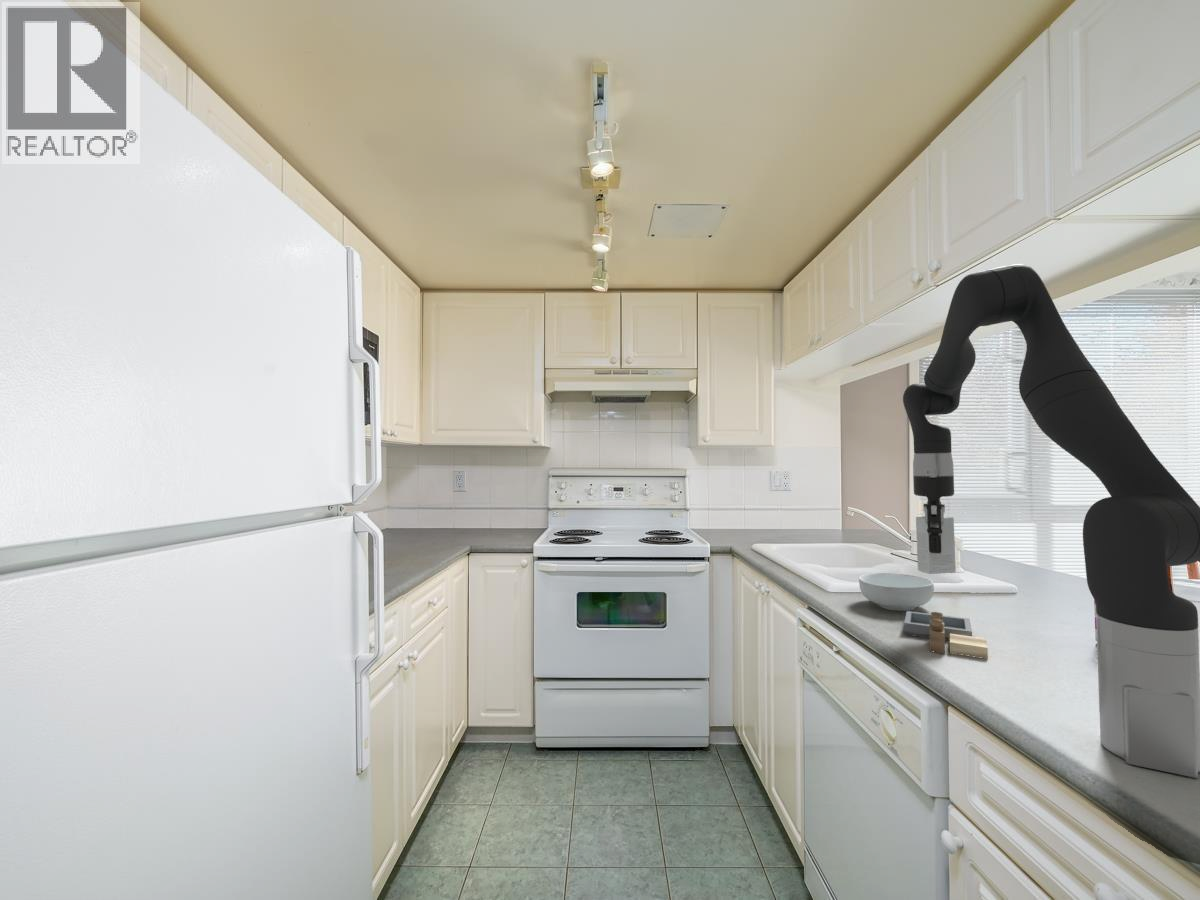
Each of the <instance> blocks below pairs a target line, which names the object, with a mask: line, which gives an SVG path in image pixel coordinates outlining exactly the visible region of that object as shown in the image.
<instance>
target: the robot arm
mask: <svg viewBox="0 0 1200 900" xmlns="http://www.w3.org/2000/svg"><path fill="white" fill-rule="evenodd" d="M947 312H948V313H947V315H946V319H945V323H944V327H943V331H942V334H941V338H940V342H939V346H938V347H937V350H936V353H935V355H933V358H932V359H931V362H930V364H929V365H928V367H927V368H926V370H925V372H924V376H923V383H922V382H921V383H920V382H919V383H912V384H910V385H909V386H907V387H906V389H905V390H904V392H903V395H902V403H903V408H904V410H905V413H906V415H907V418H908V421H909V424H910V428H911V431H912V437H913V439H912V440H913V459H912V460H913V461H912V474H913V475H912V477H913V479H912V480H913V494H914V495H915V496H918V497H926V498H927V502H926V503H923V505H922V506H923V509H922V510H923V513H924V517H925V524H926V525H928V529H927V533H928V535H929V552H931V553H941V536H942V535H941V534H942V530H941V527H942V526H943V525H944V516H945V512H946V508H945V507H946V506H945V504H944V503H942V501H941V498H943V497H946V498H947V497H952V496H954V495H955V478H954V477H955V476H954V475H955V474H954V471H955V470H954V461H953V460H954V459H953V455H952V432H951V429H950V428H949V427H947V426H944V425H939V424H933V423H931V422H930V421H929V420H928V418H926V416H937V415H939V416H942V415H948V414H951V413H953V412H955V411H956V410H957V409H958V408H959V406H960V402H961V401H960V400H961V392H962V388H963V384H964V382H965V381H966V379H967V378H968V376H969V374H971V372H972V370H973V369H974V367H975V364H976V357H977V356H976V351H975V348H974V346H973V343H972V342H971V339H970V336H971V335H972V334H973V333H974V332H975V331H977V329H978V328H979V327H988V326H991V325H998V324H1002V323H1007V322H1008V323H1009V322H1013V323H1014V324H1015V325H1017V327H1018V329H1019V330H1020V332H1021V334H1022V335H1023V338H1024V340H1025V343H1026V351H1025V356H1024V360H1023V363H1022V367H1021V372H1020V375H1019V382H1018V391H1019V395H1020V397H1021V399H1022V401H1023V403H1024V405H1025V407H1026V408H1027V410H1028V412H1029V414H1030V415H1031V416H1032V418H1033V420H1034V422H1035V423H1036V425H1037V426H1038V428H1039V430H1041V431H1042V432H1043V433H1044V434H1045V436H1047V438H1049V439H1050V440H1051V441H1052V442H1053V443H1055V444H1056V445H1057V446H1058V447H1060V448H1061V449H1063V450H1064V451H1065V452H1066V453H1068V454H1070V455H1071V456H1072V457H1073V458H1075V459H1076V460H1078V461H1079V462H1080V463H1081V464H1082V465H1084V466H1085V467H1087V468H1088V469H1089V470H1090V471H1091V472H1092V473H1093V474H1094V475H1095V476H1096V477H1097V478H1098V479H1099V481H1100V482H1101V484H1102V485H1103V486H1104V487H1105V490H1106V491H1107V492H1108V494H1109V495H1110V496H1108V497H1105V498H1102V499H1099V500H1098V501H1096V502H1094V503H1093V504H1092V505H1091V506H1090V507H1089V509H1088V510H1087V512H1086V514H1085V516H1084V521H1083V524H1082V546H1083V555H1084V556H1083V557H1084V564H1085V565H1084V566H1085V574H1086V583H1087V587H1088V590H1089V592H1090V594H1091V597H1092V598H1093V601H1094V600H1095V603H1096V621H1097V641H1096V652H1097V674H1098V675H1097V676H1098V677H1097V678H1098V679H1097V680H1098V681H1097V682H1098V709H1099V731H1100V732H1099V733H1100V743H1101V746H1103V747H1104V748H1105V749H1106V750H1108V751H1110V753H1112V754H1114V755H1116V756H1118V757H1120V758H1121V759H1123V760H1124V761H1125V763H1126V764H1127V765H1128V764H1129V765H1132V766H1137V767H1143V768H1147V769H1152V770H1156V771H1161V772H1166V773H1171V774H1176V775H1180V776H1185V777H1190V778H1194V779H1198V778H1199V773H1200V642H1199V641H1200V639H1199V637H1200V636H1199V614H1198V613H1199V611H1198V609H1197V607H1196V604H1194V603H1193V602H1192V601H1190V600H1188V599H1186V598H1184V597H1181V596H1179V595H1176V594H1175V593H1174V591H1172V589H1171V586H1170V580H1169V571H1168V567H1174V566H1175V567H1176V566H1186V565H1189V564H1194V563H1197V562H1199V561H1200V505H1199V504H1198V503H1197V502H1196V501H1195V500H1194V498H1193V497H1192V496H1191V495H1190V494H1189V493H1188V492H1187V491H1186V490H1185V488H1184V487H1183V486H1182V485H1181V484H1180V483H1179V482H1178V480H1176V478H1175V477H1174V476H1173V475H1172V474H1171V473H1170V472H1169V471H1168V469H1167V468H1165V466H1164V464H1163V463H1162V462H1161V461H1160V460H1159V458H1157V456H1156V455H1155V454H1154V453H1153V452H1152V450H1151V449H1150V447H1149V446H1148V444H1147V443H1146V442H1145V440H1144V439H1143V437H1142V436H1141V434H1140V433H1139V432H1138V429H1137V428H1136V427H1135V425H1134V424H1133V423H1132V422H1131V420H1130V418H1128V416H1127V415H1126V414H1125V412H1124V411H1123V409H1122V408H1121V406H1120V404H1119V403H1118V402H1117V400H1116V398H1115V396H1114V395H1113V393H1112V392H1111V390H1110V389H1109V387H1108V386H1107V384H1106V383H1105V381H1104V380H1103V379H1102V377H1101V376H1100V374H1099V373H1098V371H1097V370H1096V369H1095V367H1094V366H1093V365H1092V364H1091V362H1090V361H1089V360H1088V358H1087V357H1086V355H1085V354H1084V352H1083V351H1082V350H1081V348H1080V346H1079V344H1078V343H1077V342H1076V340H1075V339H1074V337H1073V335H1072V333H1071V332H1070V331H1069V329H1068V327H1067V326H1066V324H1065V323H1064V321H1063V318H1062V317H1061V315H1060V312H1059V311H1058V309H1057V307H1056V304H1055V302H1054V301H1053V298H1052V297H1051V294H1050V292H1049V291H1048V289H1047V287H1046V285H1045V283H1044V280H1042V278H1041V277H1040V275H1039V274H1038V272H1036V270H1035V269H1033V268H1032V267H1031V266H1029V265H1027V264H1023V263H1015V264H1008V265H1003V266H999V267H993V268H989V269H984V270H979V271H975V272H973V273H969V274H967V275H965V276H964V277H963V278H962V279H961V280H960V281H959V283H958V285H957V286H956V288H955V290H954V293H953V295H952V298H951V302H950V304H949V308H948V311H947ZM930 525H934V526H939V528H934V527H931V528H930ZM940 535H941V536H940Z"/></svg>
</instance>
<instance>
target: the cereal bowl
mask: <svg viewBox="0 0 1200 900" xmlns="http://www.w3.org/2000/svg"><path fill="white" fill-rule="evenodd" d="M858 584H859V589H860V592H861V594H862V596H864V597H865V598H866V600H868V601H870V602H872V603H874V604H877V605H878V606H879V607H881V608H883V609H886V610H890V611H897V612H907V611H912V610H915V608H917V607H920V606H924V605H926V604H927V603H928V602H930V601H931V600H932V598H933V596H934V591H935V587H934V586H935V585H934V581H933V580H932V579H929V578H927V577H923V576H920V575H919V576H918V575H915V574H905V573H897V572H873V573H872V572H871V573H866V574H862V575H860V576H859V577H858Z"/></svg>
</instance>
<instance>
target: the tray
mask: <svg viewBox="0 0 1200 900" xmlns="http://www.w3.org/2000/svg"><path fill="white" fill-rule="evenodd" d="M905 612H906V614H905V618H904V635H905V634H906V635H905V636H912V635H915V637H919V636H920V638H926V637H930V620H931V613H927V612H926V613H924V612H917V611H911V610H909V611H905ZM943 622H944V629H945V641H948V640H950V633H951V634H958V635H965V636H972V637H973V630H972V625H971V619H970V618H969V617H960V616H959V617H958V616H951V615H944V614H943Z"/></svg>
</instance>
